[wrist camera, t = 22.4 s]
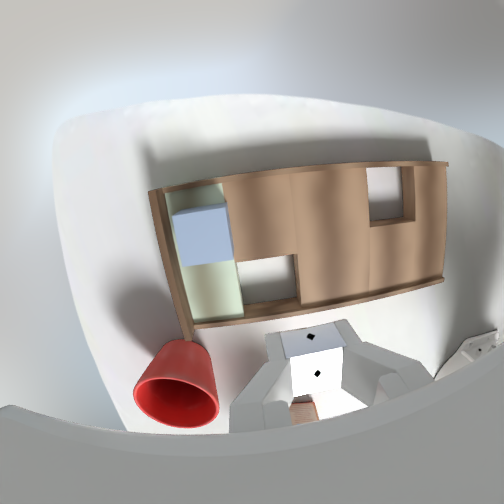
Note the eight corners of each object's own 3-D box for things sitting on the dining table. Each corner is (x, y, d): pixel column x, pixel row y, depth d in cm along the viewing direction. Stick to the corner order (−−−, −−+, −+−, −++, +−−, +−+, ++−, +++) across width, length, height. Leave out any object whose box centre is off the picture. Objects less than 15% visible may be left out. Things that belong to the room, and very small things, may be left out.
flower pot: (216, 388, 39) (213, 435, 30) (150, 374, 38) (135, 418, 29) (227, 338, 36) (225, 387, 27) (151, 322, 35) (130, 366, 26)
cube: (227, 202, 28) (225, 207, 24) (234, 247, 29) (233, 259, 26) (180, 209, 28) (171, 216, 24) (189, 254, 29) (182, 266, 26)
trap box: (432, 161, 30) (460, 162, 24) (430, 273, 35) (453, 288, 29) (164, 187, 30) (147, 191, 24) (192, 315, 35) (185, 341, 29)
